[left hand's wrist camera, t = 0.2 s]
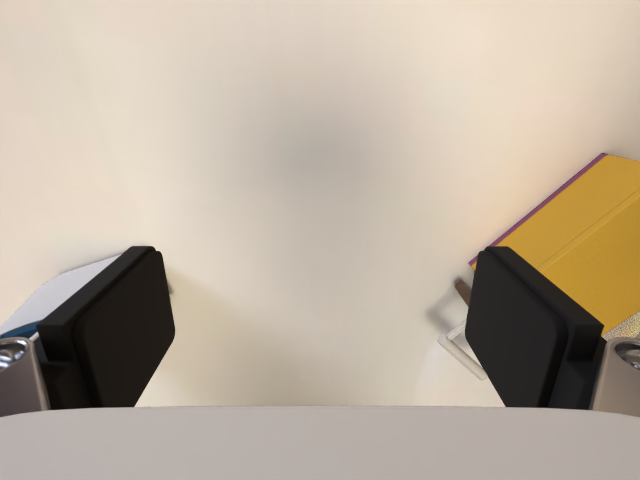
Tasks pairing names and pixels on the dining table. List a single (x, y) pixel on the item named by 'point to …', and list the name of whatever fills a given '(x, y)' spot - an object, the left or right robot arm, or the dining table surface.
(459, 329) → the drawer
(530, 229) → the yellow open box
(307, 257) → the dining table surface
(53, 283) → the electronic device
